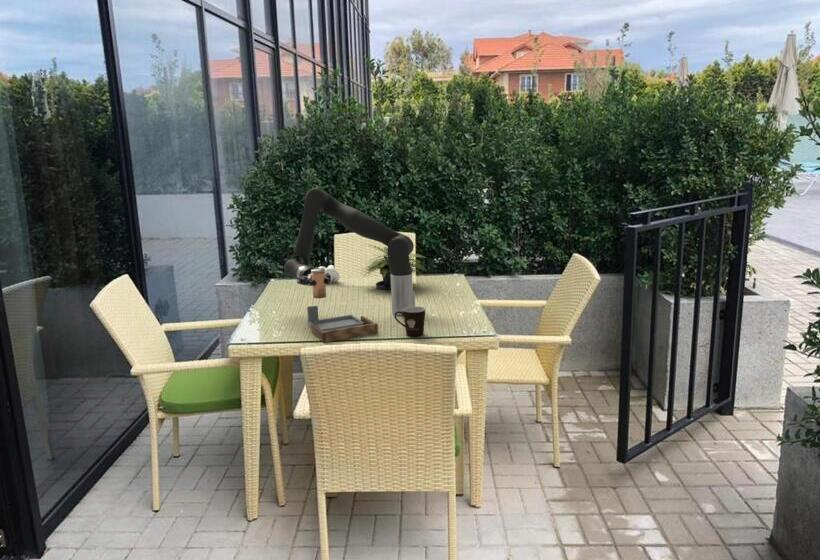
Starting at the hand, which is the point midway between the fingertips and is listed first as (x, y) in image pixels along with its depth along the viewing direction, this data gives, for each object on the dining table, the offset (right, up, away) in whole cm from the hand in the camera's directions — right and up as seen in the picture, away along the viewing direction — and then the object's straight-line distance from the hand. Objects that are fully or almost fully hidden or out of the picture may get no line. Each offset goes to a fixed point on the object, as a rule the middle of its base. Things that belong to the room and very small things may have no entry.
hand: (321, 282), depth 247 cm
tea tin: (-1, -6, +4) cm, 7 cm away
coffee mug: (+35, -20, -4) cm, 41 cm away
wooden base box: (+9, -20, 0) cm, 22 cm away
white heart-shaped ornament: (-9, -1, +93) cm, 94 cm away
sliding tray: (+5, -18, +9) cm, 20 cm away
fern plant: (+27, -3, +77) cm, 81 cm away
